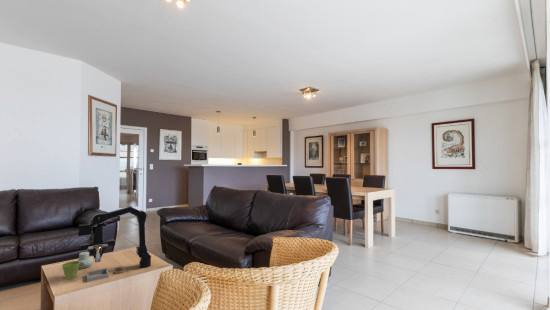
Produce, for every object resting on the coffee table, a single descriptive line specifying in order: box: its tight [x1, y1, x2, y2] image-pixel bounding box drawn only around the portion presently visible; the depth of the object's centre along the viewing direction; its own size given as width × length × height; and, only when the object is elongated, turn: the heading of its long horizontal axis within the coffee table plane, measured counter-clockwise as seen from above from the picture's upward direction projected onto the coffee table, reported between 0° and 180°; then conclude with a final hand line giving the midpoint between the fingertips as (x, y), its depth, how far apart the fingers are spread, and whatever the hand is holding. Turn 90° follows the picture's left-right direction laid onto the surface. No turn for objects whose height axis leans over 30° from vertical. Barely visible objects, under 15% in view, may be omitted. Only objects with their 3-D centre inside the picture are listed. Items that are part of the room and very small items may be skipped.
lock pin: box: [94, 245, 102, 263], centre depth 172 cm, size 4×4×9 cm
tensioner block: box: [109, 266, 129, 277], centre depth 180 cm, size 10×11×2 cm
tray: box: [86, 267, 110, 283], centre depth 172 cm, size 11×11×3 cm
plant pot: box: [61, 260, 80, 280], centre depth 173 cm, size 9×9×9 cm
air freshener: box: [76, 251, 94, 270], centre depth 190 cm, size 11×8×10 cm
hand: (97, 258), depth 172 cm, fingers closed on lock pin, 3 cm apart
